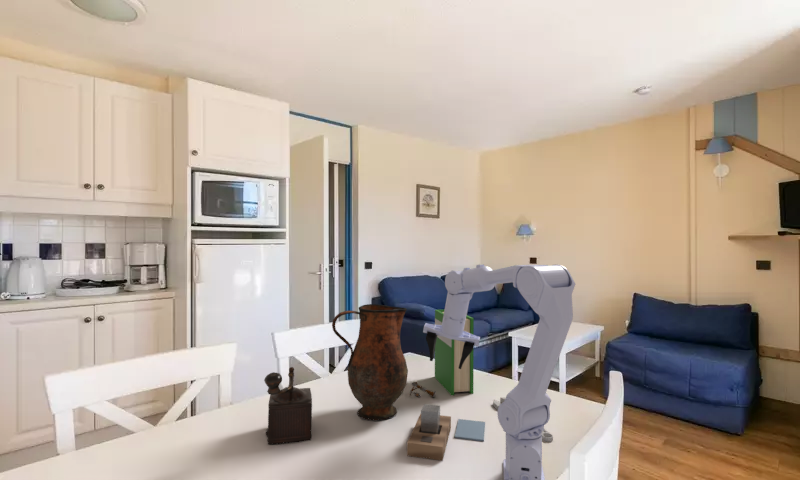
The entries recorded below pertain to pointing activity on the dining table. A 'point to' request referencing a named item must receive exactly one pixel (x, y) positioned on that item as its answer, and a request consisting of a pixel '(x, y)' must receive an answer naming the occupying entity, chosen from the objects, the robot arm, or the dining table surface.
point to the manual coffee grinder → (288, 411)
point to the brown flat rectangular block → (429, 441)
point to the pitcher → (377, 361)
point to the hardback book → (453, 360)
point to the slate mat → (470, 430)
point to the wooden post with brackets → (431, 393)
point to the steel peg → (430, 419)
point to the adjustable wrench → (545, 434)
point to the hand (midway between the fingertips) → (445, 363)
